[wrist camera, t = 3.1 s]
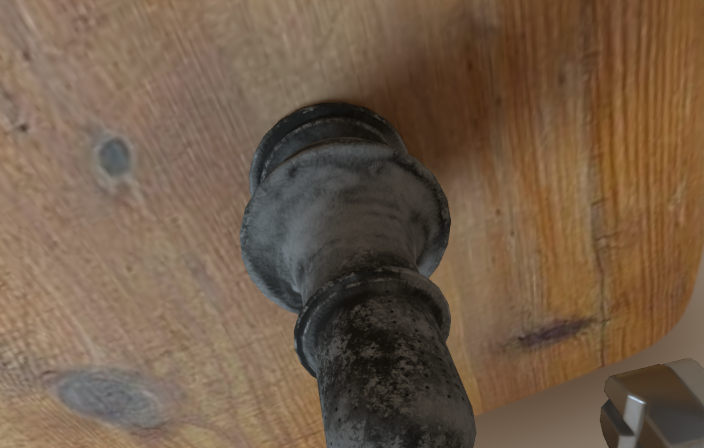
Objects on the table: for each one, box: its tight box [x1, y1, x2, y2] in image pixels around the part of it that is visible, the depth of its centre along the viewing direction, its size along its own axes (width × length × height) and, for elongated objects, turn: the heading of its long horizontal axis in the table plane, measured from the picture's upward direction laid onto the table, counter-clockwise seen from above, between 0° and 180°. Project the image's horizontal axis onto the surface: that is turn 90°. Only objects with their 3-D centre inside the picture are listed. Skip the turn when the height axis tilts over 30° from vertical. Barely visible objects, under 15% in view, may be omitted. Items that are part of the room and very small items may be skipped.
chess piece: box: [240, 103, 476, 448], centre depth 15 cm, size 6×6×12 cm
